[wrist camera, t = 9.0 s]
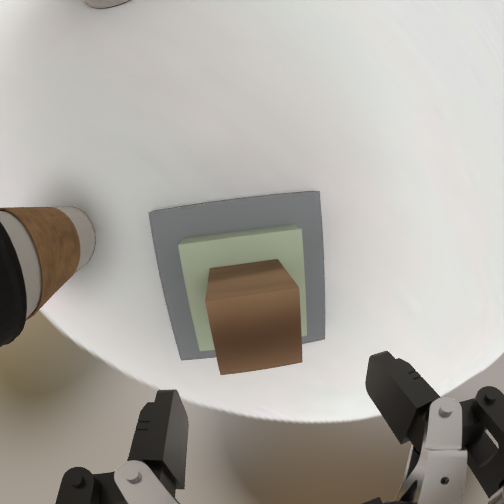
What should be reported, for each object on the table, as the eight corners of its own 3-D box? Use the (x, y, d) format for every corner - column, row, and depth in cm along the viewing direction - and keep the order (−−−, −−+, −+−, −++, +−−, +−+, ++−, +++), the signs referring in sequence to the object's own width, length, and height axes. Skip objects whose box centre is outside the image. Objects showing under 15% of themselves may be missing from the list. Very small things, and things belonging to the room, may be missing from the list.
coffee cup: (78, 296, 23) (-10, 382, 9) (28, 238, 21) (-76, 283, 7) (124, 236, 23) (17, 303, 8) (68, 175, 21) (-56, 179, 6)
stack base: (153, 210, 22) (139, 215, 18) (313, 190, 23) (330, 192, 20) (182, 351, 26) (178, 376, 22) (320, 332, 27) (333, 352, 23)
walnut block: (209, 268, 20) (205, 301, 14) (277, 258, 20) (299, 287, 14) (220, 328, 21) (220, 375, 15) (282, 318, 21) (302, 362, 16)
